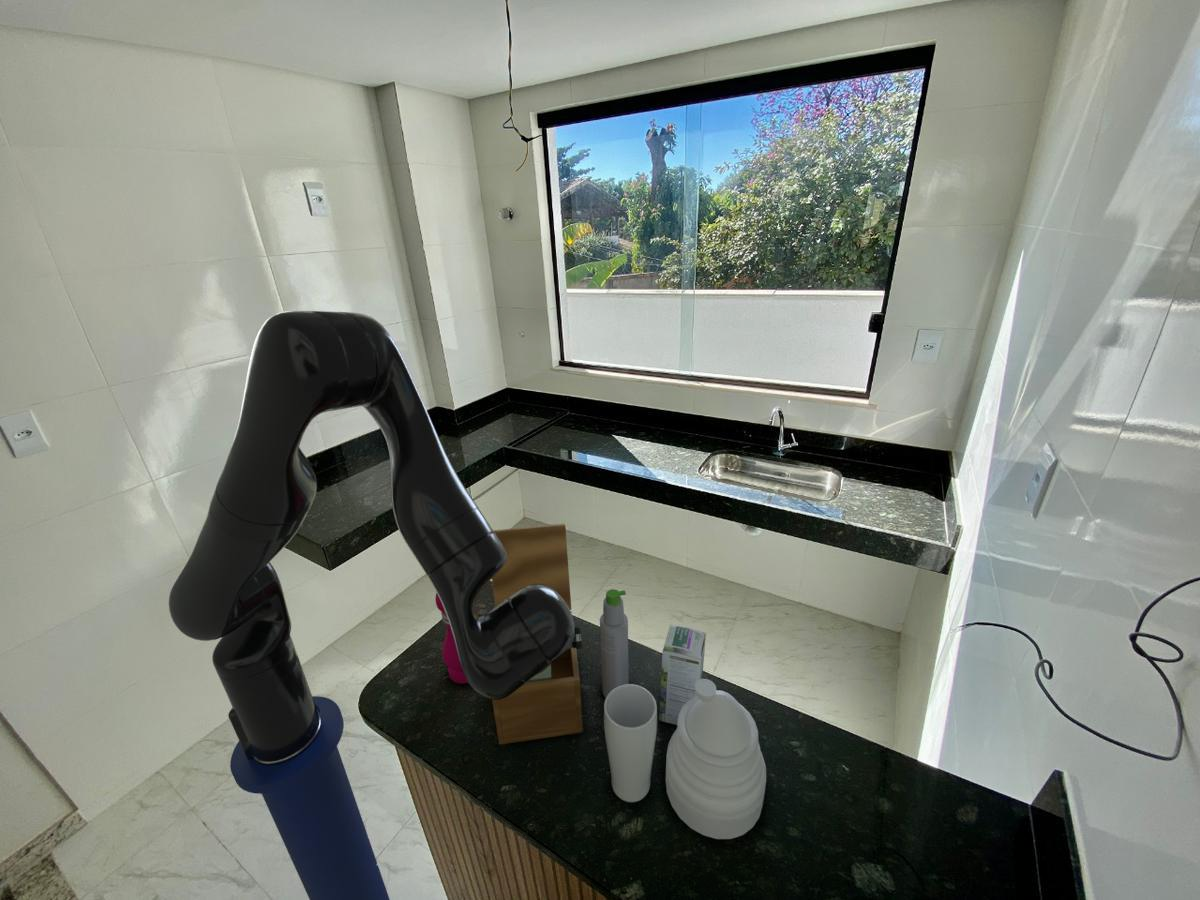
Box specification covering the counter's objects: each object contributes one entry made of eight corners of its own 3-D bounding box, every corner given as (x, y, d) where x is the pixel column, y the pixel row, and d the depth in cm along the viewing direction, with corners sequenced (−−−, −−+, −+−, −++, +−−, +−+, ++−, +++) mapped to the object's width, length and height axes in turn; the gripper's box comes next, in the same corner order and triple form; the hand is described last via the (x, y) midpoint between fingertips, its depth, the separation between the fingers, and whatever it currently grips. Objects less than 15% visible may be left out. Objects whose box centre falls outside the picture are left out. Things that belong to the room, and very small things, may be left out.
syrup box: (665, 691, 80) (667, 622, 74) (701, 700, 78) (706, 630, 73) (658, 721, 75) (660, 649, 69) (697, 731, 73) (702, 658, 68)
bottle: (627, 703, 78) (626, 603, 71) (601, 701, 79) (596, 602, 71) (629, 681, 82) (628, 584, 75) (603, 679, 83) (600, 583, 75)
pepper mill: (437, 681, 83) (417, 586, 76) (460, 650, 90) (444, 559, 82) (474, 690, 81) (458, 594, 74) (495, 658, 88) (482, 566, 80)
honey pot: (664, 831, 61) (668, 731, 54) (666, 737, 73) (669, 644, 66) (771, 846, 59) (788, 744, 52) (755, 747, 71) (767, 652, 64)
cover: (565, 525, 79) (565, 523, 80) (486, 532, 78) (487, 530, 78) (571, 610, 82) (571, 607, 83) (496, 618, 81) (496, 616, 82)
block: (526, 719, 75) (521, 680, 72) (526, 695, 79) (522, 658, 76) (554, 715, 76) (551, 677, 73) (553, 691, 80) (550, 654, 77)
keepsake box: (582, 732, 74) (579, 680, 70) (499, 744, 72) (490, 691, 68) (574, 658, 87) (571, 610, 83) (503, 667, 86) (496, 619, 81)
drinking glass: (596, 791, 66) (592, 712, 60) (622, 751, 71) (621, 675, 65) (640, 821, 62) (640, 740, 56) (664, 776, 67) (666, 698, 61)
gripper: (582, 604, 62) (578, 613, 76) (468, 617, 60) (486, 624, 75) (588, 668, 59) (582, 665, 74) (468, 683, 57) (487, 677, 72)
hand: (534, 644), depth 74 cm, fingers open, 8 cm apart
